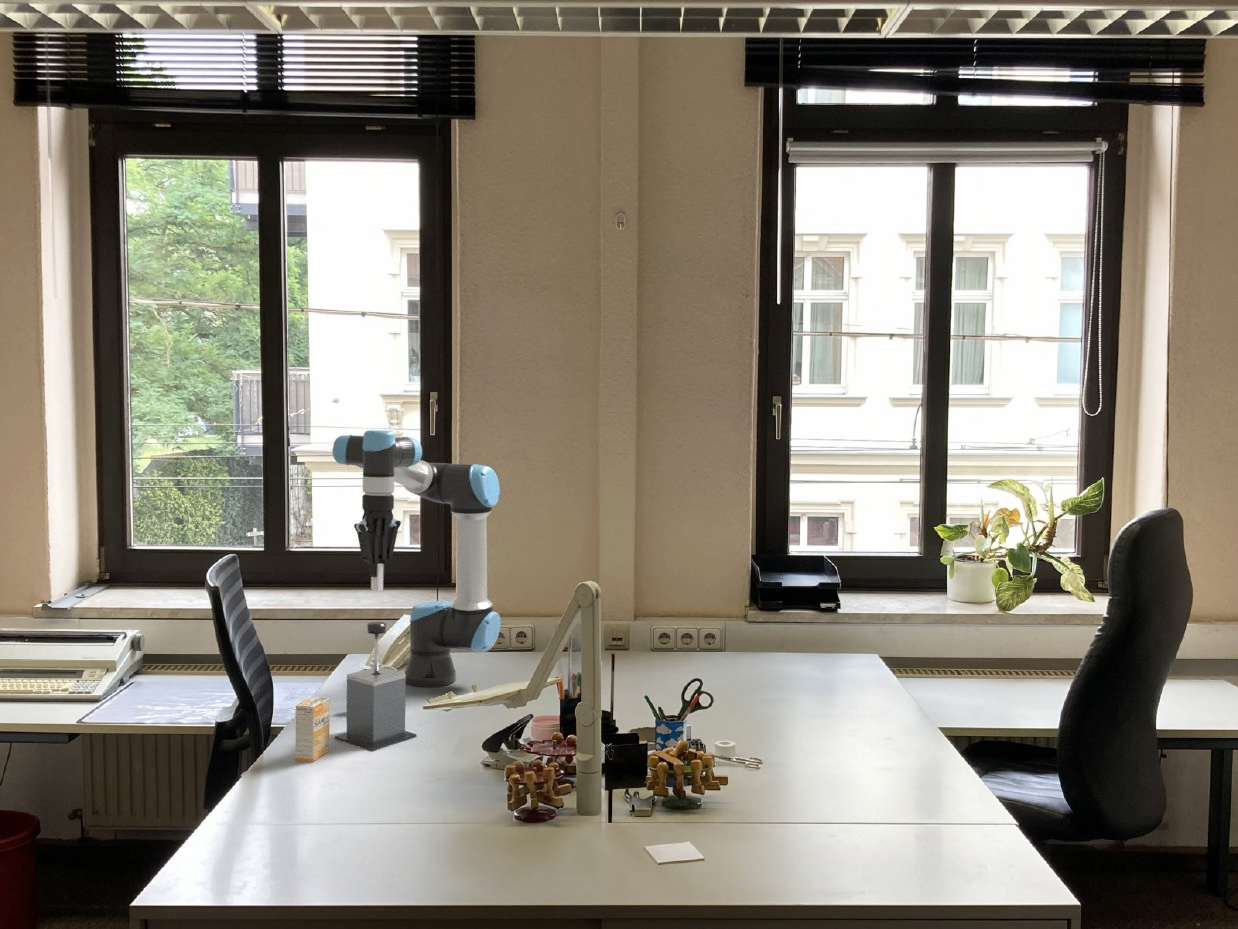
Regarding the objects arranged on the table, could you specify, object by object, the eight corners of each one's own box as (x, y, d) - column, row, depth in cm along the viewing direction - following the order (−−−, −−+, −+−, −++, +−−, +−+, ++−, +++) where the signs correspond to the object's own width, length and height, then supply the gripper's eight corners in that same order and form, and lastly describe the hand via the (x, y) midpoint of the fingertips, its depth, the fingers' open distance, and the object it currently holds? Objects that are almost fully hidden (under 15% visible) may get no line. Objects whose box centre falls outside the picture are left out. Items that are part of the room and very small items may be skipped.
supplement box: (313, 762, 247) (313, 707, 246) (294, 761, 248) (294, 705, 247) (330, 751, 255) (330, 697, 254) (311, 749, 256) (311, 695, 255)
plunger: (378, 676, 269) (378, 619, 268) (397, 682, 265) (397, 623, 264) (355, 682, 263) (355, 624, 262) (374, 688, 259) (374, 628, 258)
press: (376, 724, 275) (377, 663, 274) (416, 736, 266) (417, 673, 265) (332, 737, 264) (332, 674, 263) (372, 751, 255) (372, 685, 254)
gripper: (388, 491, 269) (387, 584, 270) (346, 494, 258) (345, 591, 260) (409, 493, 264) (407, 588, 266) (367, 496, 254) (365, 595, 255)
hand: (377, 589), depth 263 cm, fingers closed
